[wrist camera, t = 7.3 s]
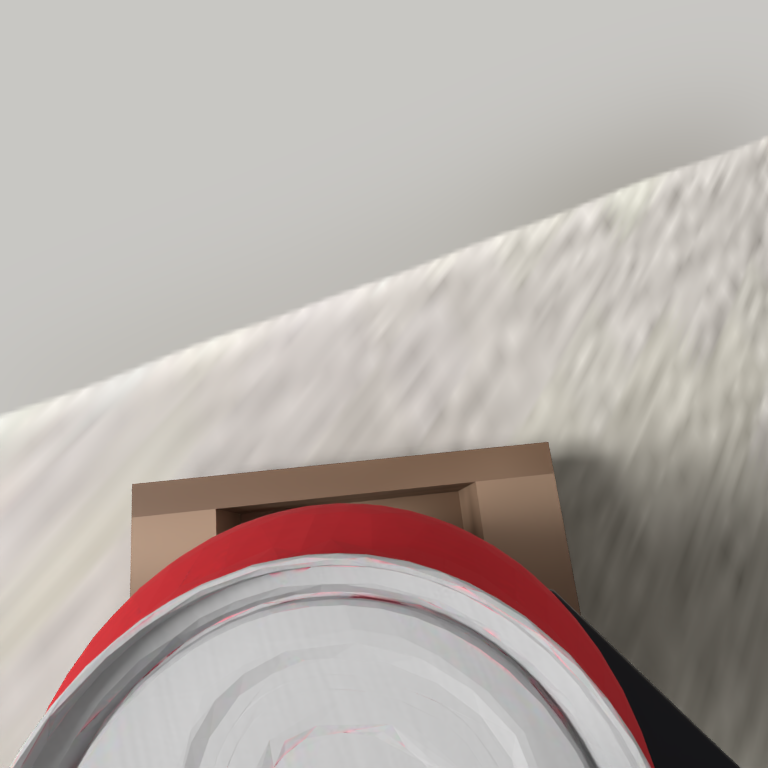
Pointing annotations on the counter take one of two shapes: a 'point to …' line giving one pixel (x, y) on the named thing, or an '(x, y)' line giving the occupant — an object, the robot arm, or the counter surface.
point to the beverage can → (340, 659)
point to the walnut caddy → (376, 487)
